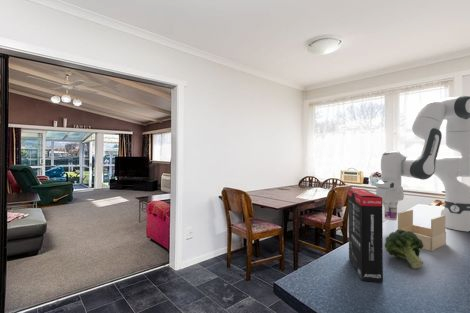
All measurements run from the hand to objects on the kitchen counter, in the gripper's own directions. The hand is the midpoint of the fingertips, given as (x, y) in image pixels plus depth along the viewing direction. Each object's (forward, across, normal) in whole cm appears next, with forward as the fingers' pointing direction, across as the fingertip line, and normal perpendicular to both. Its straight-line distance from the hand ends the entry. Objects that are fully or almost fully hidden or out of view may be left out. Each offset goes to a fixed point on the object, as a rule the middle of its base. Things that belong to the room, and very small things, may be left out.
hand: (390, 210), depth 123 cm
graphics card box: (+12, +50, +15) cm, 53 cm away
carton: (+12, +2, +14) cm, 18 cm away
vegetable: (+12, +30, +19) cm, 37 cm away
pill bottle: (+5, 0, 0) cm, 5 cm away
